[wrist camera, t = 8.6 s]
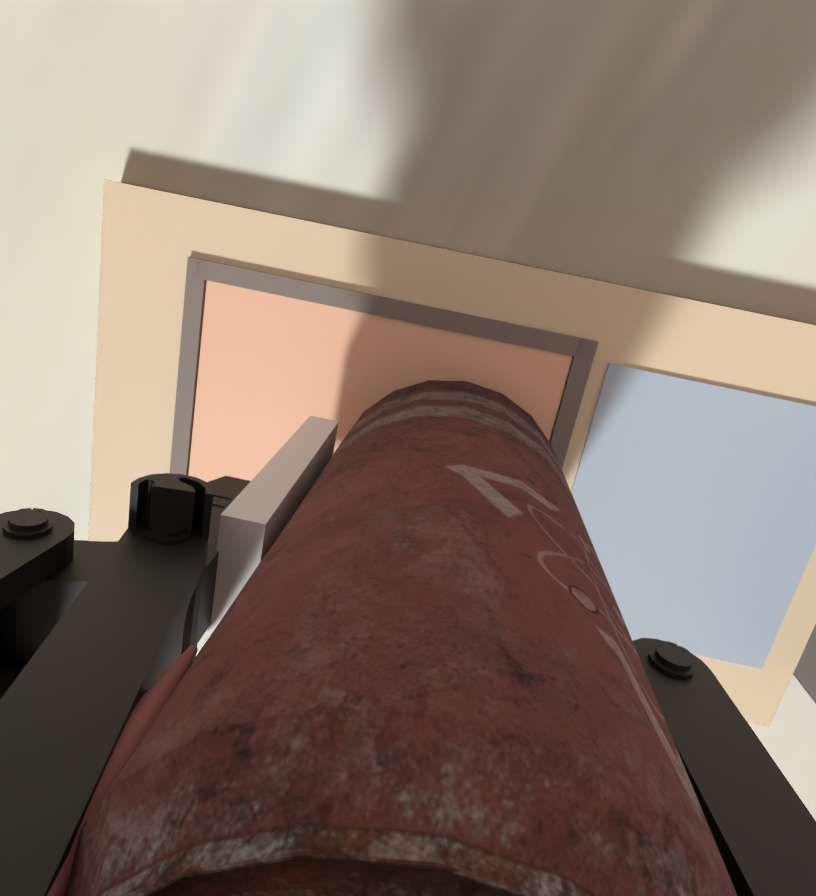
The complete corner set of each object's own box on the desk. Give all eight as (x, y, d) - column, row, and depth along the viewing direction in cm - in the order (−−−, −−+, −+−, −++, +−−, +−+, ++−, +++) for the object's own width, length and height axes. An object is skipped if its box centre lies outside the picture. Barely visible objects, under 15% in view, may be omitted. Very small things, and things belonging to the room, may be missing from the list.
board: (100, 566, 21) (83, 580, 20) (119, 182, 18) (101, 178, 17) (758, 709, 21) (771, 730, 20) (918, 346, 17) (943, 351, 16)
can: (367, 339, 17) (-16, 670, 4) (593, 422, 17) (1035, 1043, 4) (303, 536, 19) (-107, 1232, 5) (507, 610, 19) (593, 1474, 6)
